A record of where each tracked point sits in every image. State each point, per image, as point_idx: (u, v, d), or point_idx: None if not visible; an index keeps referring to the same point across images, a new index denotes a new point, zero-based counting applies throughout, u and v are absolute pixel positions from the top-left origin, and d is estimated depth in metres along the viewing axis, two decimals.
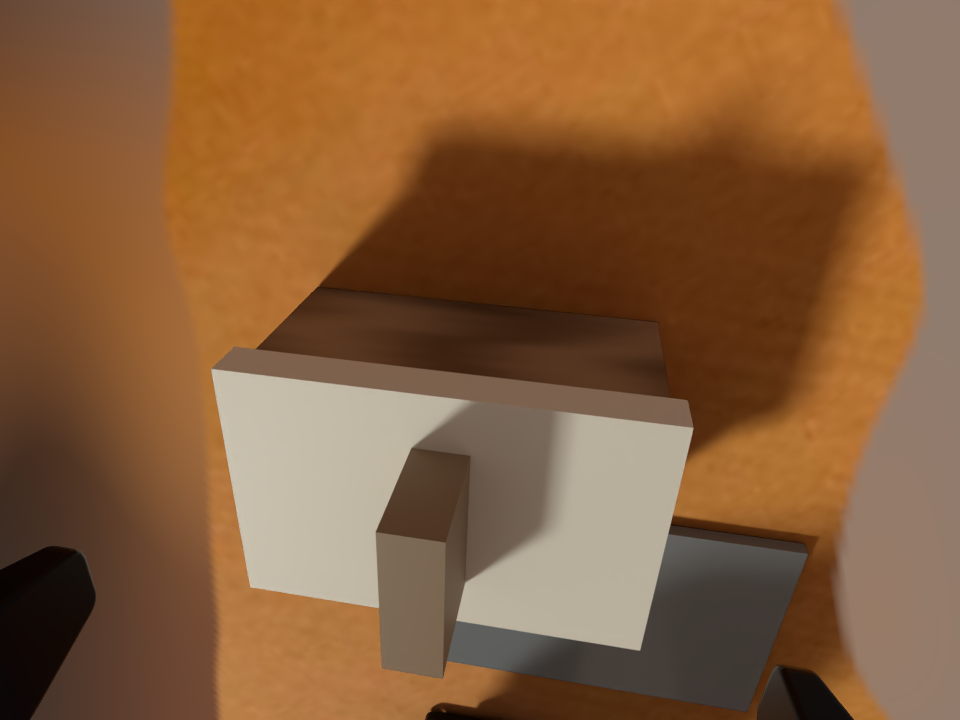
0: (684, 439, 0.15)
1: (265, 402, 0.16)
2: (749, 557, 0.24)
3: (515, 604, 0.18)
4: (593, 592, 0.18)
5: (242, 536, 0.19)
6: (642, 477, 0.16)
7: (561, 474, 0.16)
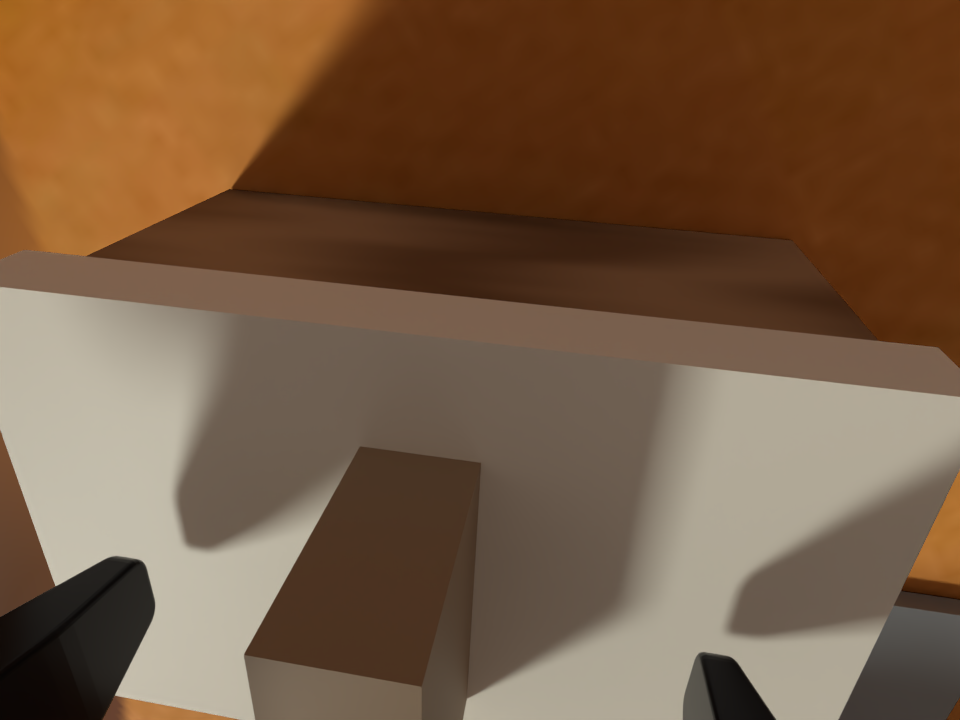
0: None
1: (64, 352, 0.08)
2: (907, 625, 0.15)
3: None
4: None
5: None
6: (849, 510, 0.07)
7: (671, 502, 0.08)
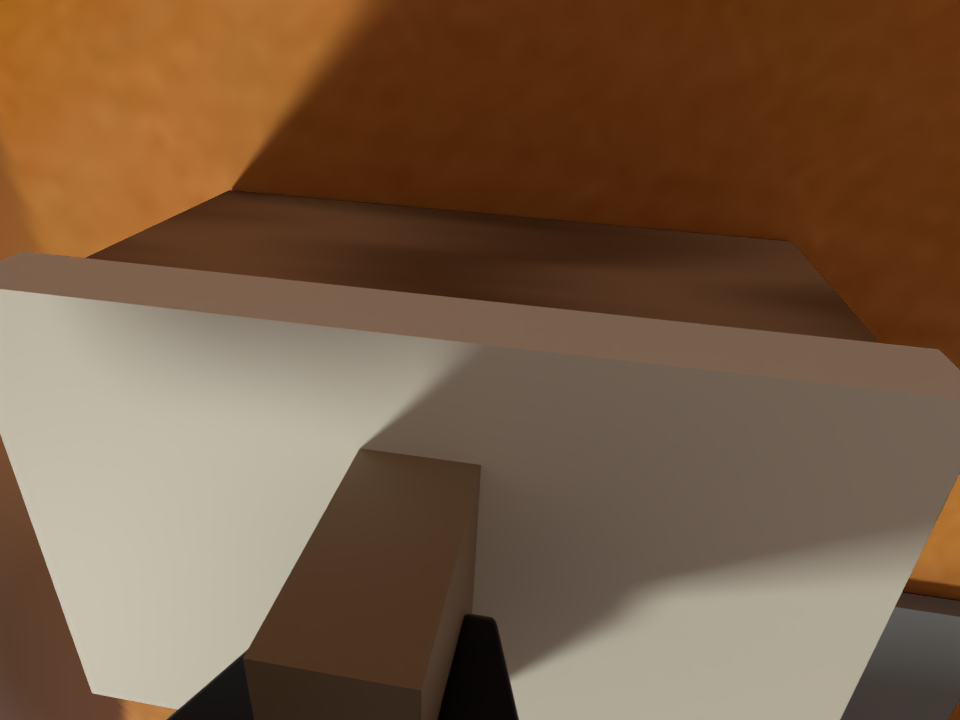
0: None
1: (63, 354, 0.08)
2: (908, 626, 0.15)
3: None
4: None
5: (64, 609, 0.10)
6: (849, 512, 0.07)
7: (671, 504, 0.08)
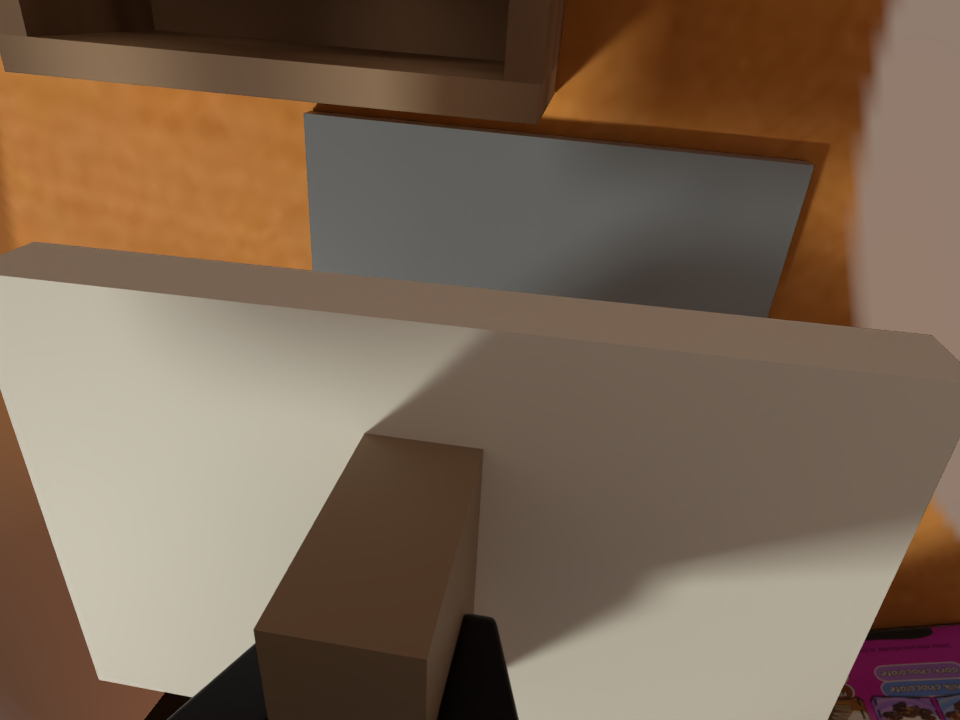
0: (957, 411, 0.07)
1: (74, 341, 0.08)
2: (730, 179, 0.16)
3: None
4: (710, 710, 0.09)
5: (72, 596, 0.11)
6: (844, 495, 0.07)
7: (670, 488, 0.08)
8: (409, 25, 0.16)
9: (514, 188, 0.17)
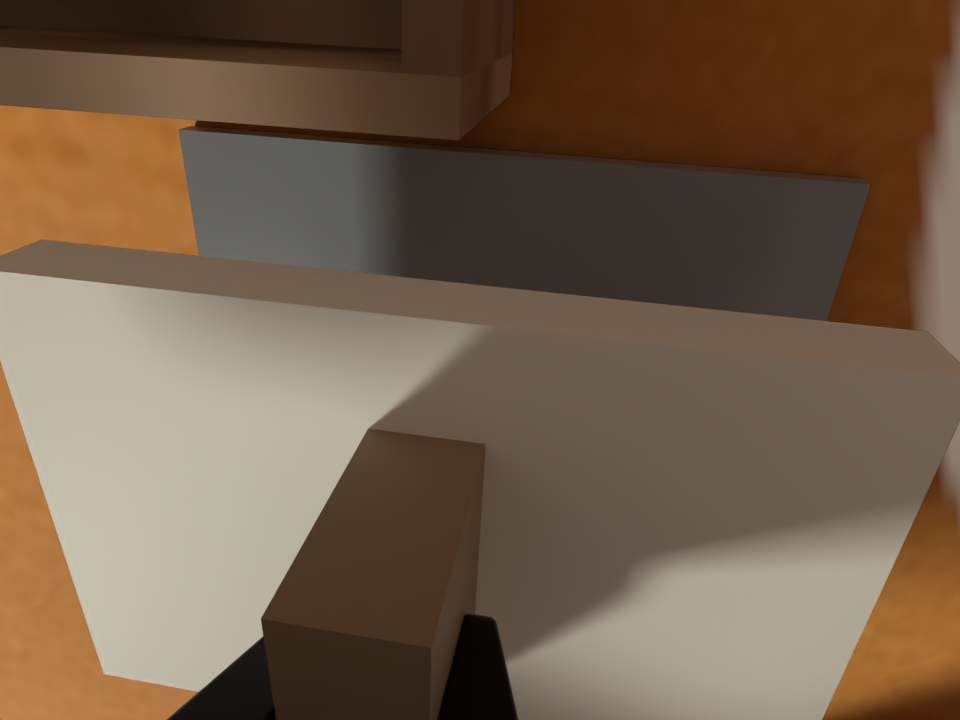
0: (952, 406, 0.07)
1: (82, 337, 0.08)
2: (752, 205, 0.12)
3: (561, 717, 0.10)
4: (709, 703, 0.10)
5: (78, 590, 0.11)
6: (841, 488, 0.08)
7: (669, 482, 0.08)
8: (304, 5, 0.11)
9: (462, 223, 0.13)
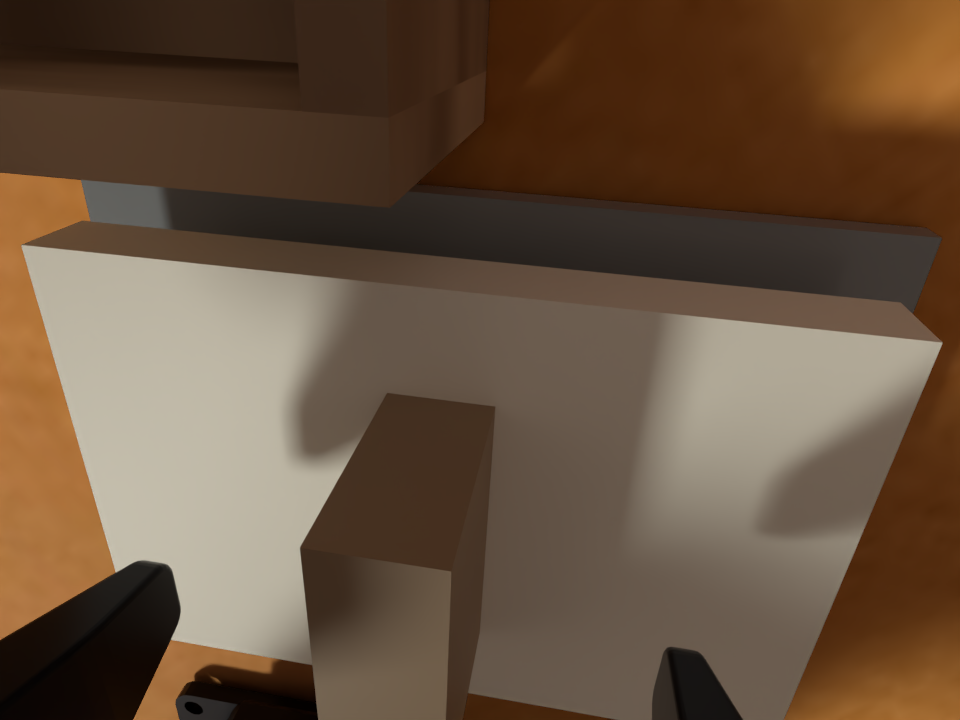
0: (919, 367, 0.08)
1: (123, 309, 0.09)
2: (790, 262, 0.10)
3: (563, 669, 0.11)
4: (701, 652, 0.10)
5: (111, 551, 0.11)
6: (821, 445, 0.08)
7: (664, 440, 0.09)
8: (219, 10, 0.09)
9: None
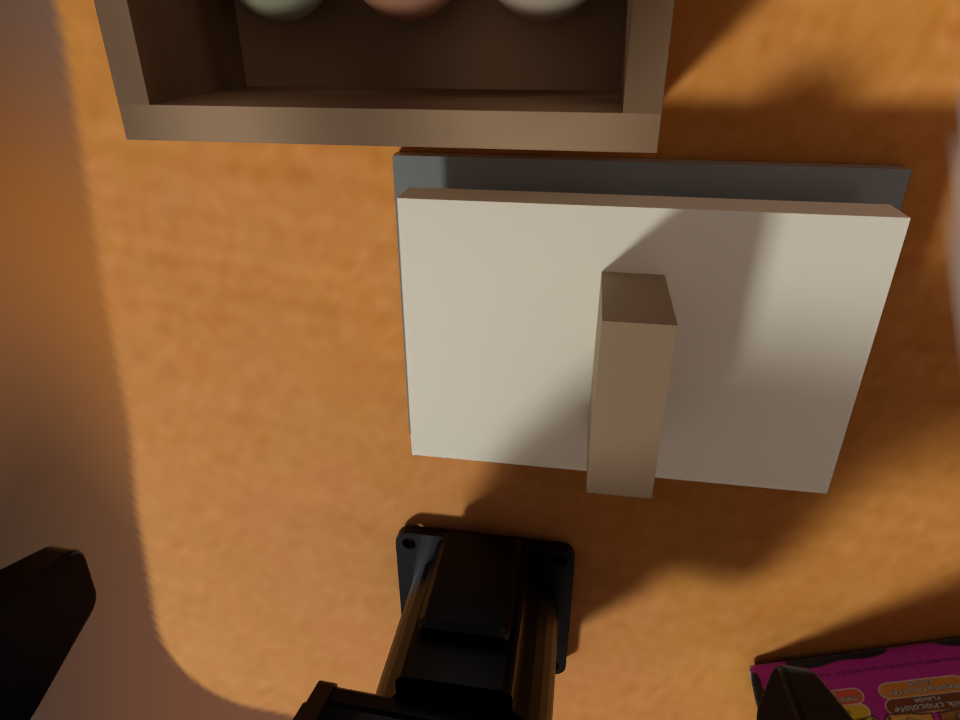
0: (899, 232, 0.15)
1: (450, 232, 0.16)
2: (825, 189, 0.16)
3: (695, 449, 0.18)
4: (782, 427, 0.17)
5: (409, 394, 0.19)
6: (849, 283, 0.15)
7: (761, 287, 0.16)
8: (498, 63, 0.16)
9: None
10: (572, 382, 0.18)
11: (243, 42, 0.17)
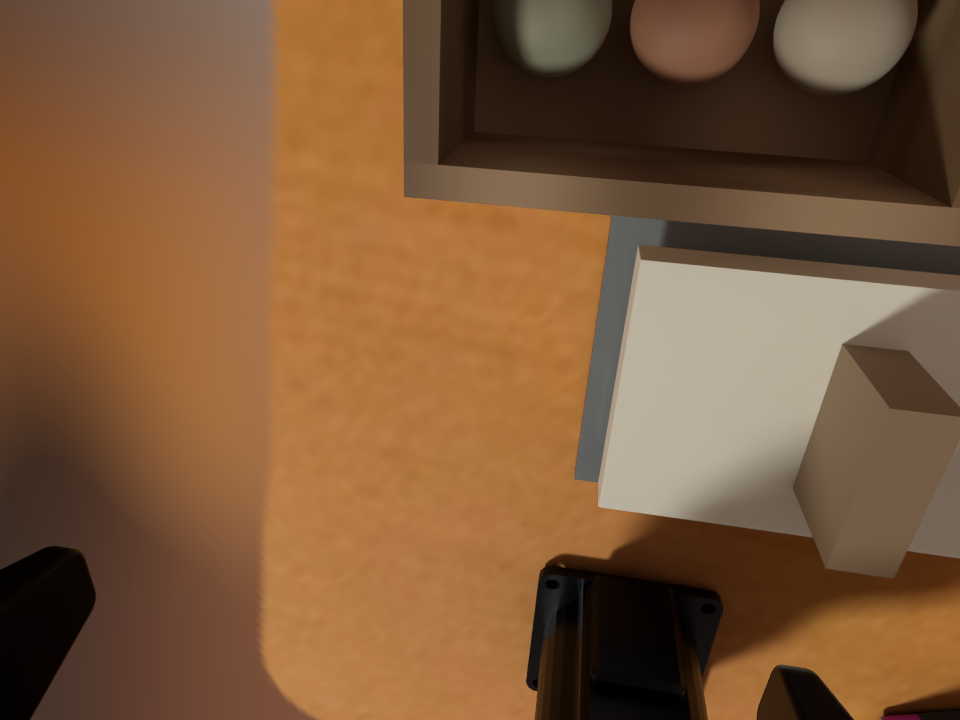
0: None
1: (690, 296, 0.16)
2: None
3: None
4: None
5: (609, 449, 0.18)
6: None
7: None
8: (748, 126, 0.16)
9: None
10: (785, 448, 0.17)
11: (479, 88, 0.16)
